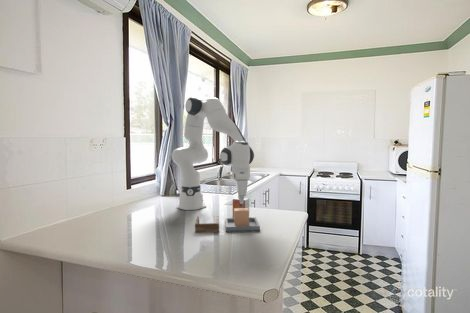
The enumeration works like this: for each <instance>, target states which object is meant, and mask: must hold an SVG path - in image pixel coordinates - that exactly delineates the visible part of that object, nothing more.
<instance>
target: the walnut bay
mask: <svg viewBox="0 0 470 313" xmlns="http://www.w3.org/2000/svg"><path fill="white" fill-rule="evenodd" d="M219 219H220V218H219V215H216V222H214V223H213V222H211V223H210V222H208V223H200V216H196V219H195V223H194V230H195V231H194V232H195V233H199V234H202V233H219V230H220V229H219V226H220V225H219V224H220V223H219V222H220V221H219Z"/></svg>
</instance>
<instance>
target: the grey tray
mask: <svg viewBox="0 0 470 313" xmlns="http://www.w3.org/2000/svg"><path fill="white" fill-rule="evenodd" d="M224 222H225V223H224V224H225V232H226V233H240V232H241V233H243V232H244V233H245V232H249V233H250V232H260V230H261V228H260V224H259V221H258V219H257V217H254V216H253V217H249V226H235V225H234V217H225V218H224Z"/></svg>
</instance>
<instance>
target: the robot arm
mask: <svg viewBox="0 0 470 313" xmlns="http://www.w3.org/2000/svg"><path fill="white" fill-rule="evenodd" d="M185 110H186V113H187V116H186V119H185V124H184V134H183V136H184V138H185V139H186V140H187V142H188V144H189V145H188V146H181V147H177V148H175V149H173V151H172V153H171V160H172V161H173V163H174V164H176V165H177V167H178V168H179V170H180V171H179V172H180V174H181V181H182V183H181V187H180V190H181V193H180V194H179V198H178V199H179V202H178V205H177V206H176V209H181V210H184V211H185V210H186V211H191V210H192V211H194V210H195V211H196V210H199V209H203V208H207V204H206V203H205V202H204V195H203V193H202V192H201V188H202V187H201V184H200V179H201V178H200V177H201V176H200V173H199V171H198V170H196V169H195V167H194V164H202V163H204V162H206V161H207V160H208V158H209V153H208V152H209V151H208V150H207V149H206V148H205V145H204V143H203V132H204V131H203V130H204V125H205V119H207V122H208V125H209V127H210V128H211V129H212V130H214V131H215V132H219V133H222V134H224V135H226V136H229V137H230V138H231V139H232V141H233V142H232V144H231V145H229V146H226V147H223V148H222V149H221V151H220V154H219V160H220V162H221V163H222V164H223V165H224V166H228V167H229V166H231V177H232V178H233V179H234V181H235V185H236V186H235V188H236V192H237V194H238V195H237V196H238V199H240V204H243V203H244V198H245V197H246V196H247V192H248V180H249V179H250V178H251V167H250V166H251V164H252V162H253V161H254V158H255V153H254V150H253V149H252V147H251V146H250V145H249V142H248V141H246V138H245V137H244V135H243V133H242V132H241V130H240V128H239V127H238V125H237V124H236V123H235V122H234V121H232V119H231V118H230V117H229V115H228V114H227V111H226V109H225V107H224V105H223V103H222V101H221V100H220V99H219V98H218V97H210V98H208V97H197V96H190V97H189V98H188V99H186V102H185Z"/></svg>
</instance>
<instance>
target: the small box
mask: <svg viewBox="0 0 470 313" xmlns="http://www.w3.org/2000/svg"><path fill="white" fill-rule="evenodd" d="M234 208H248V209H249V210H250V198H247V197H246V198H245V197H244V203H243V204H240V199H238V197H237V196H236V197H234V198H232V218H234Z"/></svg>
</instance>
